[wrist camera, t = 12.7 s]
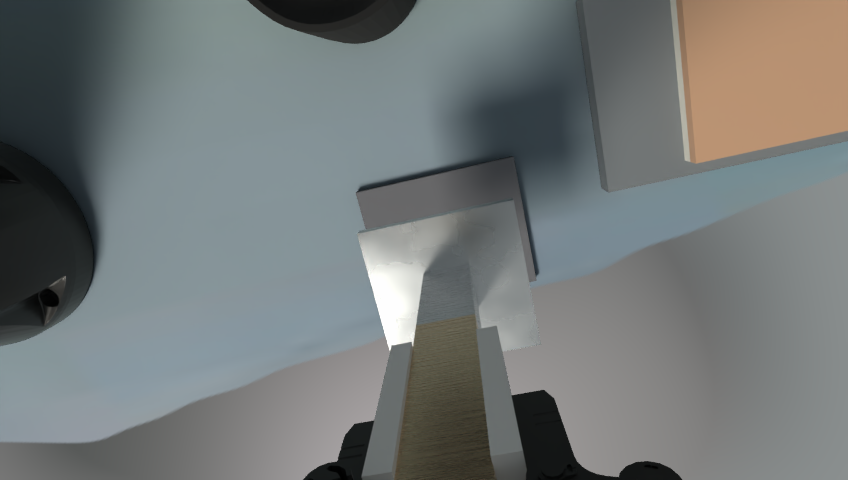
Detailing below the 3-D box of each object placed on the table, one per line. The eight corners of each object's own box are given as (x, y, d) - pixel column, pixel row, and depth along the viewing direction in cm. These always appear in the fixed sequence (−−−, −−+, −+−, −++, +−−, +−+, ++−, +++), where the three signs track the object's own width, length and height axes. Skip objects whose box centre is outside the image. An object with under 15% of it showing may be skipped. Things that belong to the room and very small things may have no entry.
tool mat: (388, 307, 37) (388, 310, 37) (357, 191, 35) (355, 192, 34) (535, 278, 36) (536, 280, 35) (512, 156, 34) (513, 157, 33)
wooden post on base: (396, 365, 28) (315, 782, 11) (359, 230, 26) (187, 488, 9) (539, 339, 27) (690, 747, 10) (512, 197, 25) (646, 412, 8)
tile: (696, 163, 30) (871, 125, 29) (681, -12, 28) (872, -61, 27) (684, 160, 32) (851, 124, 31) (669, -7, 29) (850, -53, 28)
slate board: (601, 188, 34) (608, 192, 32) (575, 1, 31) (582, -3, 29) (850, 134, 32) (869, 136, 31) (849, -69, 29) (870, -78, 28)
